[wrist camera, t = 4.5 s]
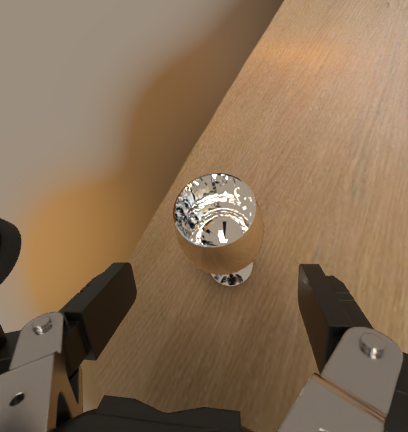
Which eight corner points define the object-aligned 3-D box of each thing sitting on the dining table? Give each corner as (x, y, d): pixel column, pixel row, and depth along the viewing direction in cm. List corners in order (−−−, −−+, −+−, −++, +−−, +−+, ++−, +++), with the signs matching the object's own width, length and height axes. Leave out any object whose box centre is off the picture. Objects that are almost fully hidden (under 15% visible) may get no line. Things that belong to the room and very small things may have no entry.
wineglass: (257, 297, 22) (263, 265, 11) (197, 288, 23) (152, 251, 12) (261, 239, 24) (270, 166, 14) (207, 234, 25) (175, 164, 15)
